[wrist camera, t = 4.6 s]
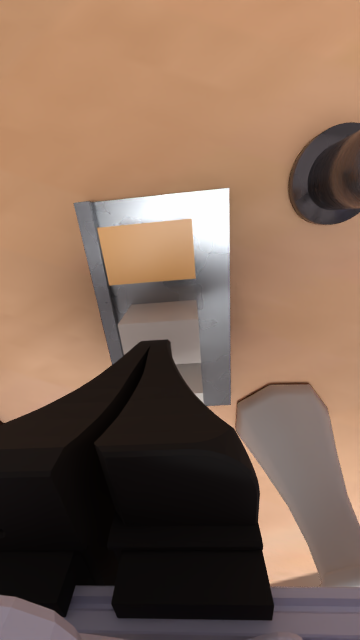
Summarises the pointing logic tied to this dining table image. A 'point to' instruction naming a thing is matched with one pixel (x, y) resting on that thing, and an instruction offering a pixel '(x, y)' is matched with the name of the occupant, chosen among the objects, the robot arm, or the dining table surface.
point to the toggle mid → (164, 328)
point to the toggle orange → (148, 252)
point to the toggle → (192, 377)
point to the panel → (206, 289)
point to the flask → (305, 474)
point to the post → (328, 176)
